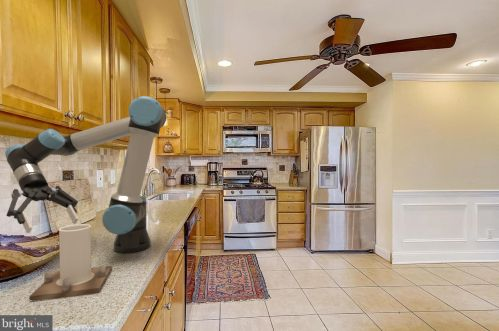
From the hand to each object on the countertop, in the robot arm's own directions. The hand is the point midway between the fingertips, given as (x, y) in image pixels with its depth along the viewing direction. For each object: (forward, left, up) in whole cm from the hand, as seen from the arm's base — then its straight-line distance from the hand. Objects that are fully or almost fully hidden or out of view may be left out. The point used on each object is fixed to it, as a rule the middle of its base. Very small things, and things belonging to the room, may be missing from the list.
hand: (54, 225), depth 87 cm
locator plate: (-9, +8, -17) cm, 21 cm away
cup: (-9, +8, -15) cm, 19 cm away
